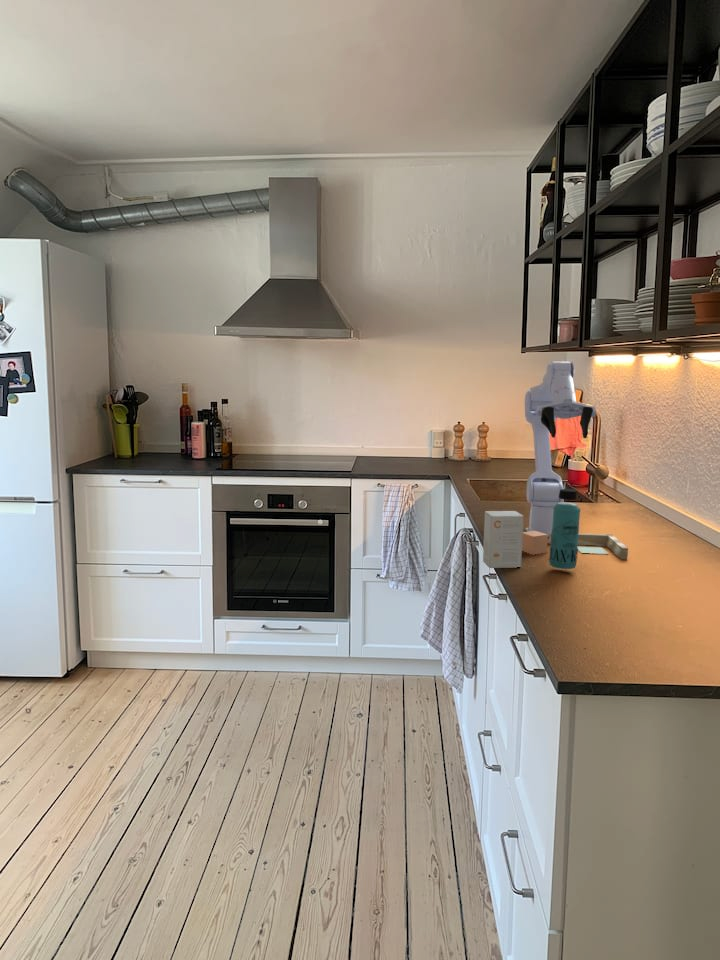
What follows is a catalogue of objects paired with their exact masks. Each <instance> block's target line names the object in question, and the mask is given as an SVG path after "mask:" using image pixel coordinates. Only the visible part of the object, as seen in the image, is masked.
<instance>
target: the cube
mask: <svg viewBox="0 0 720 960" xmlns="http://www.w3.org/2000/svg"><path fill="white" fill-rule="evenodd" d="M548 541H549V537H548V534H544V533H541V532H537V531H528V532H527V531H523V539H522V551H524V552H523V553H525V552H527V553H526V554H528V553H529V555H531V554H532V556H534V555H535V554H536V555H542V554H547V553H548ZM541 553H542V554H541Z"/></svg>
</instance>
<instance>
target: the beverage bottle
mask: <svg viewBox="0 0 720 960" xmlns="http://www.w3.org/2000/svg"><path fill="white" fill-rule="evenodd" d="M577 495H578V493H577V490H575V489H571V488H564V489H561V490H560V493H559V498H560V499H563V500H569V501H576V500H577V499H578V496H577ZM580 517H581V508H580V506H578V504H577V503H573V502H566V501H565V502H564V501H562V502H560V503H558V504H556V505H555V506H554V507H553V522H552V533H551V540H550V541H551V544H549V545H550V546H549V557H548V558H549V559H548V561H549V562H548V563H549V566H550V567H552V568H555V569H561V570H571V569H575V567H576V565H577V560H578V552H579V550H578V549H577V547H578V546H579V545H578V543H579V542H578V541H579V540H578V534H579V533H580V532H579V531H580Z"/></svg>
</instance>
